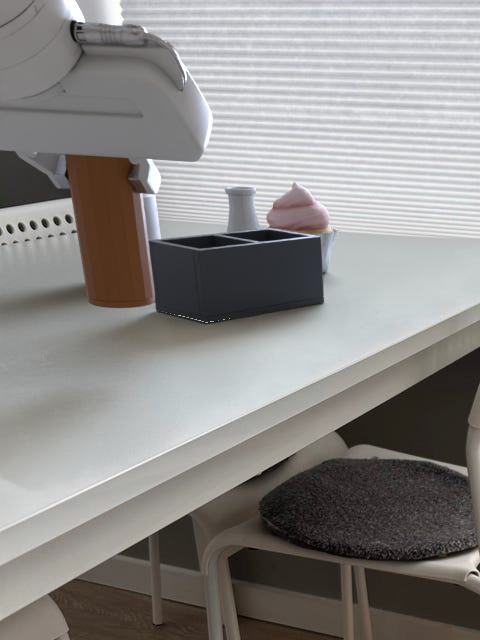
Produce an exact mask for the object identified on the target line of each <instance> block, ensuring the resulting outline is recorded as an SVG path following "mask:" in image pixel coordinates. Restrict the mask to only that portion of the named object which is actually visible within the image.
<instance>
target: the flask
mask: <svg viewBox="0 0 480 640" xmlns="http://www.w3.org/2000/svg"><path fill="white" fill-rule="evenodd" d="M224 192H225V194H226V195H227V197H228V221H227V229H226V232H235V231H245V230H255V229H261V227H260V223H259V219H258V214H257V210H256V206H255V204H256V203H255V195H256V193H257V187H251V186H227V187H224Z"/></svg>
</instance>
